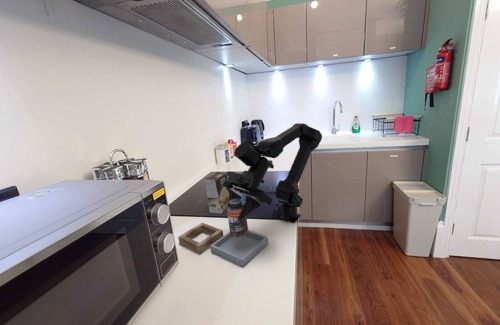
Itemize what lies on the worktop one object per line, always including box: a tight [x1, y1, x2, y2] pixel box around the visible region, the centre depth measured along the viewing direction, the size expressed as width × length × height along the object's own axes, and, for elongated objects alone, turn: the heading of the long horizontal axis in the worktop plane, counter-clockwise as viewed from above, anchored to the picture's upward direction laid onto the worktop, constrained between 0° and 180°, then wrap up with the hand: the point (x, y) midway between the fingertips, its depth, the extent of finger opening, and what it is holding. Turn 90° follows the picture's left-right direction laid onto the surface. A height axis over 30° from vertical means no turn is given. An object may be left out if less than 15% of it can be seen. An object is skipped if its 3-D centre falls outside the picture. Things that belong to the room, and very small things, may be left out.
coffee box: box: [204, 172, 229, 214], centre depth 103 cm, size 9×6×16 cm
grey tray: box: [209, 229, 269, 268], centre depth 75 cm, size 14×14×2 cm
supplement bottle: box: [226, 198, 249, 237], centre depth 73 cm, size 6×6×11 cm
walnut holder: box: [178, 222, 224, 255], centre depth 81 cm, size 11×11×3 cm
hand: (233, 215), depth 71 cm, fingers closed on supplement bottle, 6 cm apart
